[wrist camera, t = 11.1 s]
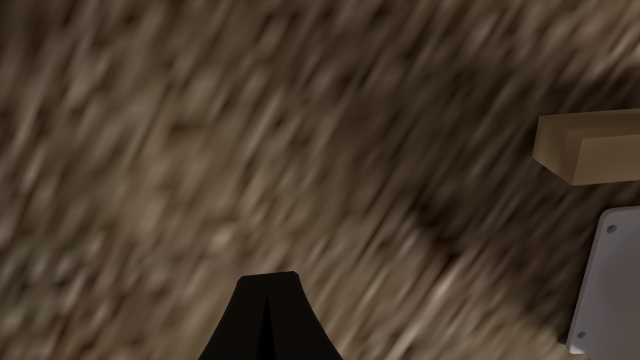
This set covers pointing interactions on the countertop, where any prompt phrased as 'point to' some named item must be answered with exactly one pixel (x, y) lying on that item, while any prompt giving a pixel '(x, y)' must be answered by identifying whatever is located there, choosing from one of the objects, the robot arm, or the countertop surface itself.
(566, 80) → the countertop surface
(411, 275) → the countertop surface
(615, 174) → the frame
